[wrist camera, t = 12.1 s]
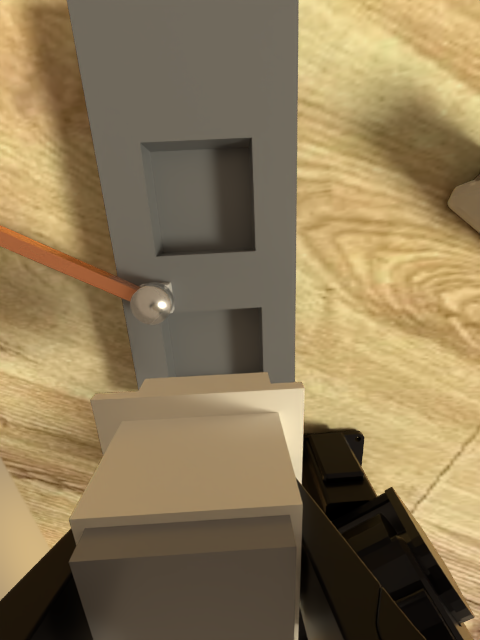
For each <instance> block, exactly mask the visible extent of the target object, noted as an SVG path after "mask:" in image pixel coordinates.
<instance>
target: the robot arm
mask: <svg viewBox="0 0 480 640" xmlns="http://www.w3.org/2000/svg"><path fill="white" fill-rule="evenodd" d="M356 437H358V438H356ZM363 446H364V436H363V434H362V433H361V432H360V431H345V432H332V433H318V434H304V435H303V457H302V484H301V483H300V482H299V481H298V479H297V478H296V481H297V484H298V488H299V492H300V496H301V500H302V503H303V513H302V542H301V572H300V601H299V631H298V640H474V639H473V637H472V636H471V634H470V633H469V631H468V629H467V628H466V626H465V624H464V623H463V622H465V621H468V620H470V619H472V618H474V617H475V616H474V615H473V613H472V611H471V609H470V607H469V605H468V604H467V602H466V600H465V598H464V597H463V595H462V593H461V591H460V589H459V588H458V586H457V584H456V582H455V580H454V579H453V577H452V575H451V573H450V571H449V570H448V568H447V566H446V565H445V563H444V561H443V560H442V558H441V557H440V555H439V554H438V552H437V551H436V549H435V548H434V546H433V545H432V543H431V542H430V540H429V539H428V537H427V535H426V534H425V532H424V531H423V529H422V528H421V526H420V525H419V524H418V522H417V521H416V519H415V518H414V517H413V515H412V514H411V513H410V511H409V510H408V508H407V507H406V506H405V504H404V503H403V501H402V500H401V499H400V497H399V496H398V495H397V493H396V492H395V490H394V489H393V488H392V487H391V488H389V489H387V490H385V493H383V494H381V495H380V496H377V494H376V493H375V491H374V489H373V487H372V485H371V483H370V482H369V480H368V478H367V476H366V474H365V473H364V471H363V469H362V467H361V466H362V456H363ZM76 546H77V545H76V542H75V539H74V535H73V532H72V529H70V530H69V531H68V532H67V533H66V534H65V535H64V536H63V537H62V538H61V539H60V540H59V541H58V542H57V543H56V544H55V545H54V546H53V548H52V549H51V550H50V551H49V552H48V553H47V554H46V555H45V556H44V557H43V558H42V559H41V560H40V561H39V562H38V563H37V564H36V565H35V566H34V567H33V568H32V569H31V570H30V571H29V572H28V573H27V574H26V575H25V576H24V577H23V578H22V579H21V580H20V581H19V582H18V583H17V584H16V585H15V586H14V587H13V588H12V589H11V590H10V592H8V594H7V595H6V596H5V597H4V598H3V599H2V600H1V601H0V640H93V637H92V634H91V631H90V627H89V624H88V621H87V618H86V615H85V612H84V608H83V605H82V602H81V599H80V596H79V593H78V590H77V586H76V583H75V580H74V577H73V574H72V571H71V568H70V564H69V560H70V558H71V556H72V554H73V552H74V550H75V548H76Z"/></svg>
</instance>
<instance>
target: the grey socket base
mask: <svg viewBox="0 0 480 640" xmlns="http://www.w3.org/2000/svg"><path fill="white" fill-rule="evenodd" d="M67 4H68V9H69V14H70V20H71V25H72V31H73V36H74V42H75V47H76V52H77V58H78V63H79V69H80V74H81V80H82V85H83V90H84V96H85V101H86V107H87V112H88V118H89V123H90V129H91V134H92V139H93V145H94V150H95V156H96V161H97V167H98V172H99V177H100V183H101V188H102V194H103V199H104V205H105V210H106V216H107V221H108V226H109V232H110V237H111V243H112V248H113V254H114V259H115V264H116V270H117V275H118V277H119V278H121V279H124V280H126V281H128V282H130V283H133V284H135V285H137V286H139V287H142V286H144V285H145V284H147V283H151V282H158V283H161V284H163V285H165V286H167V287H168V288H169V289H170V291H171V292H172V294H173V297H174V306H173V308H172V310H171V312H170V313H169V315H168V316H167V318H166V319H165V320H164V321H163V322H161V323H159V324H155V325H149V324H145V323H142V322H140V321H139V320H138V319H136V317H135V316H134V315H133V313H132V311H131V308H130V301H128V300H125V299H123V298H122V302H123V308H124V313H125V319H126V324H127V330H128V335H129V341H130V346H131V351H132V357H133V362H134V368H135V373H136V379H137V384H138V389H140V387H141V385H142V384H143V382H144V380H145V379H150V378H169V377H187V376H205V375H224V374H242V373H260V372H268V376H269V379H270V383H271V384H273V383H291V382H295V300H296V200H297V100H298V0H67Z"/></svg>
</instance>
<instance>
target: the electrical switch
mask: <svg viewBox="0 0 480 640" xmlns="http://www.w3.org/2000/svg"><path fill="white" fill-rule="evenodd" d="M447 203H448V206H449V208H450V209H451V210H453V211H454V212H455V213H456V214H457V215H459V216H460V217H461V218H462V219H463V220H464V221H466V222H467V223H468V224H469V225H470V226H471V227H473V228H474V229H475V230H476V231H477V232H479V233H480V174H479V175H478V176H477V177H476V178H475V180H473V181H470V182H467V183H464V184H462V185H459V186H456V187H455V189H454V190H453V192H452V194H451V196H450V198H449V200H448V202H447Z"/></svg>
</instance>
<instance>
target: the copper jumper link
mask: <svg viewBox="0 0 480 640" xmlns="http://www.w3.org/2000/svg"><path fill="white" fill-rule="evenodd" d="M0 246H1V247H4V248H6V249H8V250H11V251H13V252H15V253H18V254H20V255H22V256H25V257H27V258H29V259H32V260H34V261H36V262H39V263H41V264H43V265H46V266H48V267H50V268H53V269H55V270H57V271H60V272H62V273H64V274H67V275H69V276H72V277H74V278H76V279H79V280H81V281H83V282H86V283H88V284H90V285H93V286H95V287H97V288H100V289H102V290H104V291H107V292H109V293H111V294H114V295H116V296H118V297H121V298H123V299H125V300H128V301H130V308H131V311H132V313H133V315H134V316H135V317H136V319H138V320H139V321H140V322H142V323H145V324H149V325H155V324H159V323H161V322H163V321H164V320H165V319H166V318H167V316H168V315H169V313H170V312H171V310H172V308H173V306H174V297H173V294H172V292H171V291H170V289H169V288H168V287H167V286H165V285H163V284H161V283H158V282H151V283H147V284H145V285H144V286H142V287H139V286H137V285H135V284H133V283H130V282H128V281H126V280H124V279H121V278H119V277H117V276H114V275H112V274H110V273H108V272H105V271H103V270H101V269H99V268H96V267H94V266H92V265H89V264H87V263H85V262H83V261H80V260H78V259H76V258H73V257H71V256H69V255H67V254H64V253H62V252H60V251H58V250H55V249H53V248H51V247H48V246H46V245H44V244H42V243H39V242H37V241H35V240H33V239H30V238H28V237H26V236H23V235H21V234H19V233H17V232H14V231H12V230H10V229H8V228H5V227H3V226H1V225H0Z"/></svg>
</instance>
